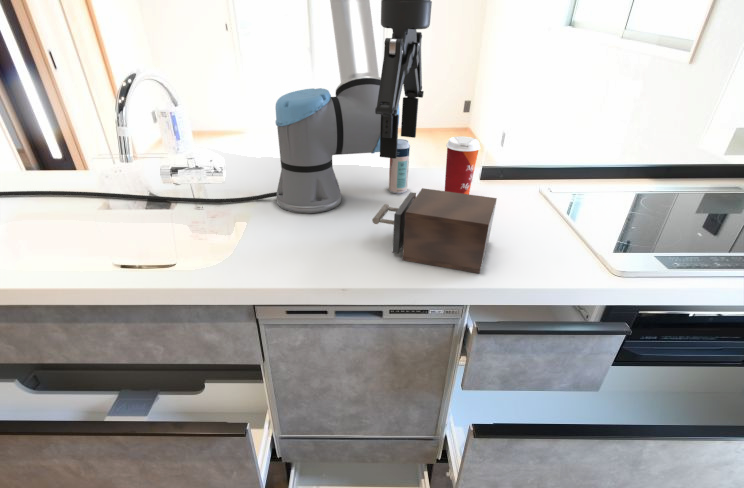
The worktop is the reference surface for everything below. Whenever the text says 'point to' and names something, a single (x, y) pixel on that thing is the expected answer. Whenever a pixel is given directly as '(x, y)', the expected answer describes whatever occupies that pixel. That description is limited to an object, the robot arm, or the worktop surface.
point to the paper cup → (460, 163)
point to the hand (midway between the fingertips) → (398, 146)
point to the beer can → (399, 168)
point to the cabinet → (448, 229)
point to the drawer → (396, 220)
